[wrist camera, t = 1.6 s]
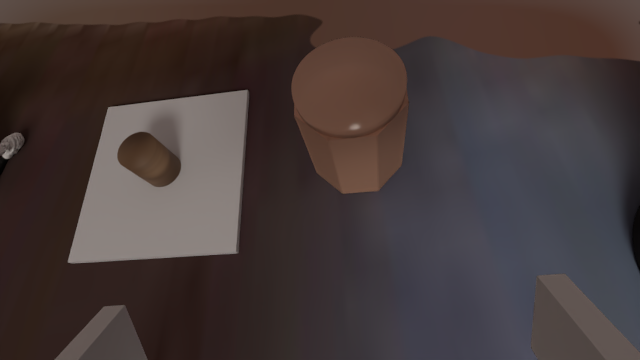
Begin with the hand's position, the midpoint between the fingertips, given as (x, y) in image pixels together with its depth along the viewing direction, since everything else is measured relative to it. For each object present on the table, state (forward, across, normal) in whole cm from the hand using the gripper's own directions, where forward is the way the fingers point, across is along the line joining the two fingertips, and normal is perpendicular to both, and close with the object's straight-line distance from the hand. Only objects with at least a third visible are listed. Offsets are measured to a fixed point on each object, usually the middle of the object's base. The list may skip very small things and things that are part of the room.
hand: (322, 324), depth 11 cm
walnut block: (+24, -18, -1) cm, 30 cm away
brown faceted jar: (+24, +2, -2) cm, 24 cm away
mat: (+25, -18, -2) cm, 31 cm away
